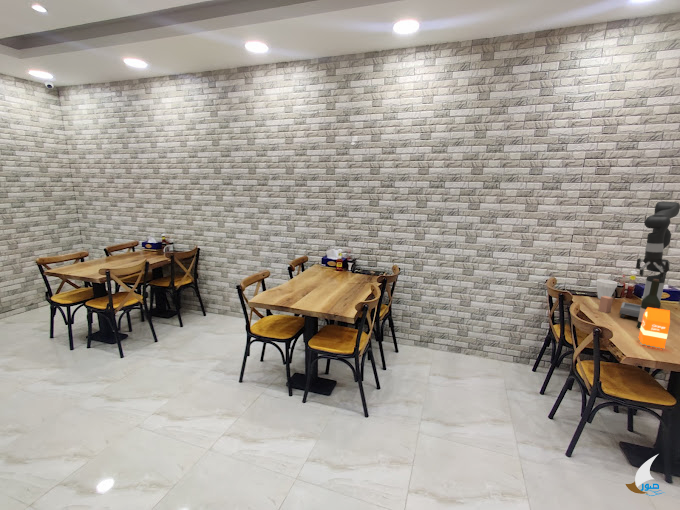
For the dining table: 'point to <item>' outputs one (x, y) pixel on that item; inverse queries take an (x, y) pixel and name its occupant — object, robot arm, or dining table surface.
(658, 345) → the orange juice
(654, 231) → the robot arm
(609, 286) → the cup
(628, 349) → the dining table surface
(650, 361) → the dining table surface
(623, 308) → the grey square tray
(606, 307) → the terracotta block
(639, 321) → the wine bottle
